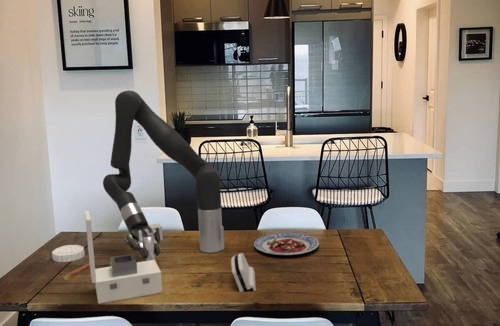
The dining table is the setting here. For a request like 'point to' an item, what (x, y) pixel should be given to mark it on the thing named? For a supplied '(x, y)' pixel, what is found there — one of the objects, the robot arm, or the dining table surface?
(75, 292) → the dining table surface
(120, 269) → the socket
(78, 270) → the chocolate bar
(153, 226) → the grey cube
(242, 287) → the white rounded block
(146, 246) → the rod
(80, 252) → the mooncake
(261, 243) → the ceramic plate
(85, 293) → the dining table surface
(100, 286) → the white fixture base
